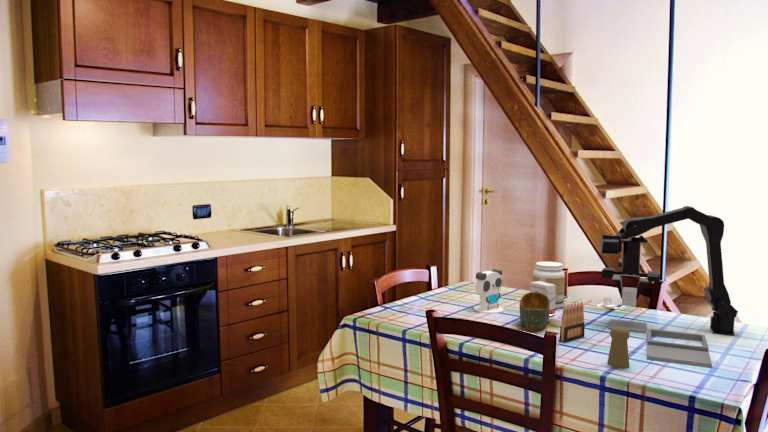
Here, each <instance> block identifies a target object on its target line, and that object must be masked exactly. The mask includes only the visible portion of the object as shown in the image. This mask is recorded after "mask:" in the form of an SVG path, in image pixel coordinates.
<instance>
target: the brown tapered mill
mask: <svg viewBox="0 0 768 432" xmlns="http://www.w3.org/2000/svg"><path fill="white" fill-rule="evenodd" d="M609 335H610V337H611V341H610V346H609V353H608V358H607V361H606V362H607V363H606V365H607V364H608V365H610V366H612V367H611V368H613V367H615V368H614V369H618V368H622V369H623V370H625V368H626V369H629V368H630V357H629V346H628V345H629V344H628V340H629V338H630V331H629V330H628V329H627V328H624V327H613V328H612V329H610V331H609ZM608 365H607V366H608ZM610 366H609V367H610ZM622 369H621V370H622Z"/></svg>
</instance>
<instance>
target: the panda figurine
mask: <svg viewBox="0 0 768 432" xmlns="http://www.w3.org/2000/svg"><path fill="white" fill-rule="evenodd" d="M502 275H503V271H502V270H500V269H495V268H492V270H484V271H482V272H478V271H477V272H476V274H475V279H476V282H475V291H476V293H477V295H478V296H479V305H475V306H474V307H473V310H474V311H476V312H478V313H482V314H500V313H503V312H504V311H505V309H504V308H503V307H501V306H499V300H500V298H501V292H500V291H501V289H502V286H503V285H502V284H503V282H502Z"/></svg>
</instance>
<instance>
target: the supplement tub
mask: <svg viewBox="0 0 768 432" xmlns="http://www.w3.org/2000/svg"><path fill="white" fill-rule="evenodd" d="M563 266H564V265H563V263H562V262H557V261H537V262H535V267H534V268H535V269H534V270H533V271H532V272H533V273H532V282H536V281H542V282H546V283H550V284H554V285H555V310H557V309H561V308H562V307H563V308H564V306H565V305H564V304H565V284H566V283H565V282H566V281H565V280H566V275H565V271H564V270H563V269H564V267H563Z"/></svg>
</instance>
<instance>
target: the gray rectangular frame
mask: <svg viewBox="0 0 768 432" xmlns="http://www.w3.org/2000/svg"><path fill="white" fill-rule="evenodd" d="M652 336H653V337H659V338H669V339H675V340H676V339H678V340H686V341H696V342H700V343H701V345H693V344H684V343H675V342H668V341H667V342H666V341H659V340H658V341H657V340H652ZM646 343H647V344H646V345H647V346H646V360H648V361H649V360H651V361H658V362H665V363H673V364H681V365H688V366H689V365H690V366H698V367H705V368H713V367H712V366H713V363H712V360H711V356H710V352H709V350H710V349H709V344H708V341H707V338H706V334H699V333H690V332H681V331H672V330H664V329H663V330H662V329H653V328H647V341H646Z"/></svg>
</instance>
